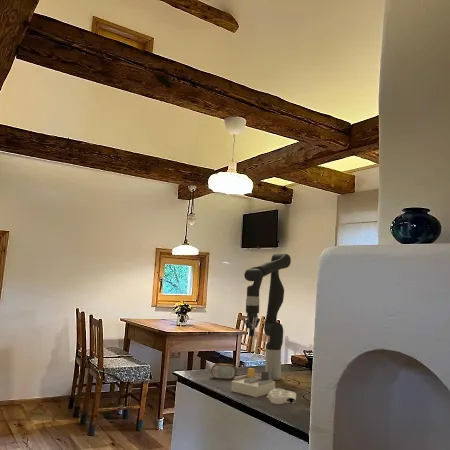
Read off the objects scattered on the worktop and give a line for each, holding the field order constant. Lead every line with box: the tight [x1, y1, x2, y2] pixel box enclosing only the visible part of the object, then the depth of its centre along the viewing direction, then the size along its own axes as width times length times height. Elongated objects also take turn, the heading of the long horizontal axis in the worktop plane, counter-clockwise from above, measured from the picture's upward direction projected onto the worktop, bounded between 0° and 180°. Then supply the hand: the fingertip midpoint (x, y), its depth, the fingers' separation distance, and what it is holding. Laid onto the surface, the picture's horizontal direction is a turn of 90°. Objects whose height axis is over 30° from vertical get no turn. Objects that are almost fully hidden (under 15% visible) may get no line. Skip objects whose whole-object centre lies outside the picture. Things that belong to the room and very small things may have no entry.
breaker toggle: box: [246, 367, 256, 378], centre depth 242 cm, size 3×4×5 cm
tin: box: [210, 362, 238, 380], centre depth 262 cm, size 15×3×8 cm, turn 84°
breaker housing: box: [230, 374, 276, 398], centre depth 235 cm, size 17×16×6 cm
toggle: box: [260, 370, 270, 381], centre depth 236 cm, size 3×4×5 cm
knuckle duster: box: [265, 388, 297, 405], centre depth 222 cm, size 3×18×15 cm
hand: (251, 335), depth 249 cm, fingers closed
